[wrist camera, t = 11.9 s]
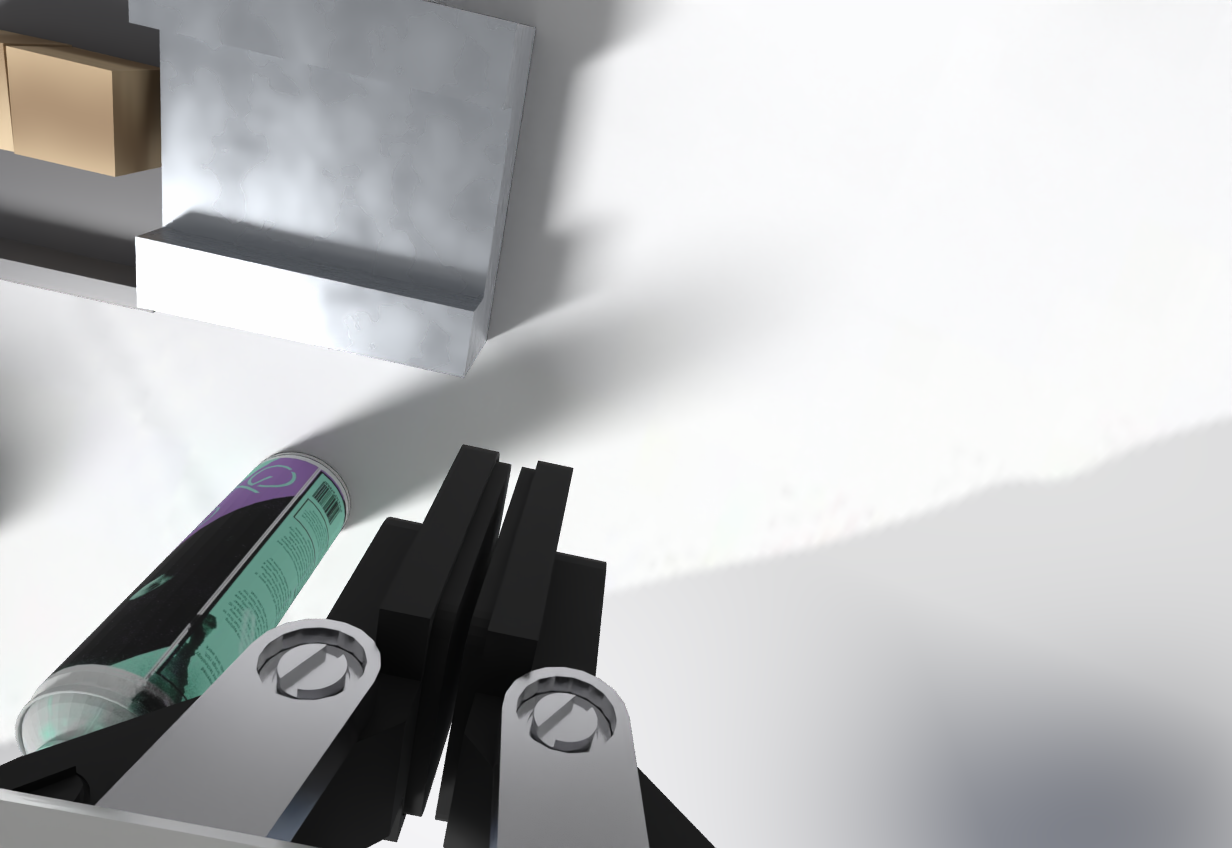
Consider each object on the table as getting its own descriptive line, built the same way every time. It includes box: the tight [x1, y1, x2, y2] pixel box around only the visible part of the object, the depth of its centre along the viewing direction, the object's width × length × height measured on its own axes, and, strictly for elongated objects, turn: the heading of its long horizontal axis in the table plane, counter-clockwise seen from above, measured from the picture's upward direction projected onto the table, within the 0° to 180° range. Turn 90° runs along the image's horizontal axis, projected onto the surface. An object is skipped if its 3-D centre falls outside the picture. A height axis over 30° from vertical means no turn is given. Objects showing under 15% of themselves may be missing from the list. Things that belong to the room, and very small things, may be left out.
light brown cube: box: [6, 46, 162, 177], centre depth 34 cm, size 4×4×4 cm
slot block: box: [128, 0, 536, 378], centre depth 34 cm, size 14×14×5 cm
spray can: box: [15, 452, 350, 756], centre depth 35 cm, size 6×6×20 cm
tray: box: [0, 0, 163, 313], centre depth 34 cm, size 16×14×3 cm
